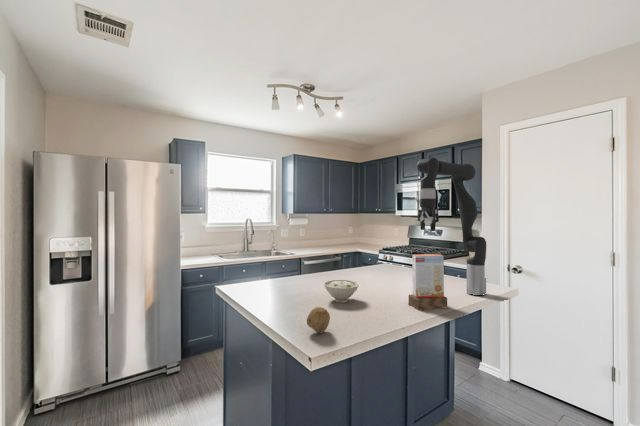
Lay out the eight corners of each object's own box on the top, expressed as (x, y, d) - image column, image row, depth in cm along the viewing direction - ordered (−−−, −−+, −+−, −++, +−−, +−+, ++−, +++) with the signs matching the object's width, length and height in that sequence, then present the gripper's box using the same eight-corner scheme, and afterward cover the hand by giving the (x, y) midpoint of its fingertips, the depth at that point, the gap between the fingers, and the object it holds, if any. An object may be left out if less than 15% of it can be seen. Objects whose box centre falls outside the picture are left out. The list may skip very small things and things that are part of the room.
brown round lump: (304, 336, 112) (304, 310, 112) (309, 327, 121) (309, 303, 121) (328, 338, 111) (328, 311, 111) (331, 329, 120) (331, 304, 120)
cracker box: (439, 294, 152) (439, 253, 152) (444, 298, 146) (444, 255, 146) (412, 294, 152) (412, 253, 152) (415, 298, 146) (415, 255, 146)
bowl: (358, 295, 168) (358, 278, 168) (359, 306, 149) (360, 286, 149) (324, 294, 170) (324, 277, 170) (321, 305, 151) (321, 285, 151)
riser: (436, 302, 156) (436, 292, 156) (447, 307, 147) (447, 297, 147) (408, 304, 152) (408, 294, 152) (418, 310, 143) (418, 299, 143)
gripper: (413, 198, 155) (413, 229, 155) (429, 197, 141) (429, 231, 141) (426, 198, 157) (426, 229, 157) (443, 197, 143) (443, 231, 143)
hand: (427, 230), depth 149 cm, fingers open, 8 cm apart
